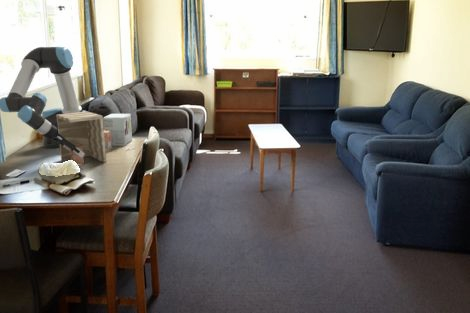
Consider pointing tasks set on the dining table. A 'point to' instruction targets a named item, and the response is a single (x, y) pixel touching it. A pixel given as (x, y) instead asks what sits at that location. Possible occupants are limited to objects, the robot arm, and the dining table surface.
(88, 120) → the open side box
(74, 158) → the terracotta block
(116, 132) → the supplement box
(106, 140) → the stack of blocks
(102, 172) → the dining table surface
